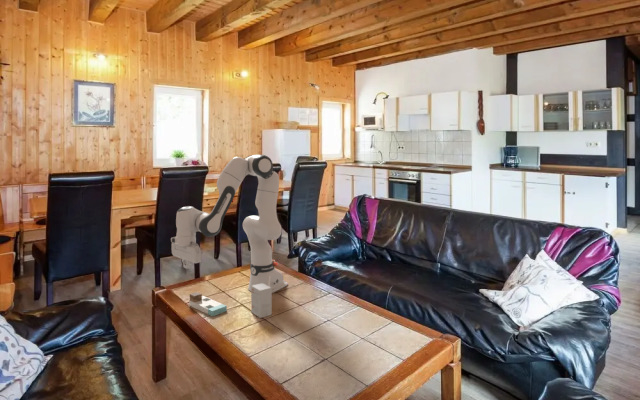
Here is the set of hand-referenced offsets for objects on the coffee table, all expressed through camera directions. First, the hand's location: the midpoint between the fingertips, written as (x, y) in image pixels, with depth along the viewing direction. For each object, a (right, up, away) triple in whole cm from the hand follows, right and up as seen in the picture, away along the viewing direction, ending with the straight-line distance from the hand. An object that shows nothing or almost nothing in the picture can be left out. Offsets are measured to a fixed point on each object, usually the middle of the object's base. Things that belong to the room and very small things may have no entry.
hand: (186, 268), depth 199 cm
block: (+5, -15, -2) cm, 16 cm away
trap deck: (+12, -18, -5) cm, 22 cm away
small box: (+38, -20, -9) cm, 43 cm away
